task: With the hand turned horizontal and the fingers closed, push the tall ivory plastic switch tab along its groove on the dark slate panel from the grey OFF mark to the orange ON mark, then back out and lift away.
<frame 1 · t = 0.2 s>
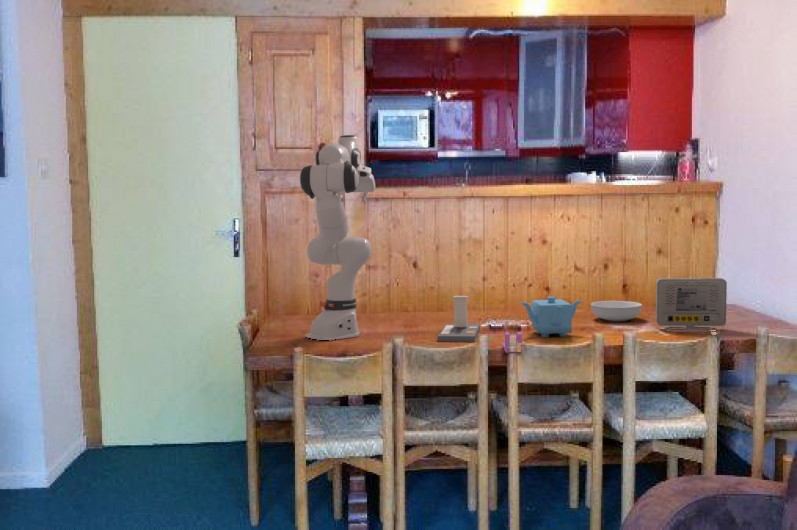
hand: (353, 201, 362), 52 cm above the table, tool tilted 20°, fingers open, 8 cm apart
bracket: (511, 349, 294), on the table
switch tab: (460, 311, 327), point 8 cm above the table, slide at 0.0 cm
network device: (690, 330, 321), on the table
teakettle: (552, 335, 318), on the table
switch panel: (459, 334, 323), on the table
serving bowl: (616, 320, 347), on the table
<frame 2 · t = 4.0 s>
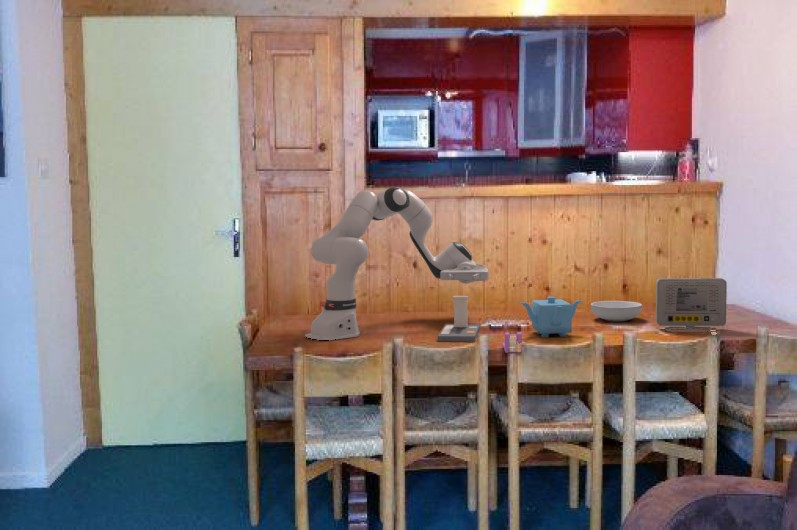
hand: (463, 277, 339), 20 cm above the table, tool horizontal, fingers open, 8 cm apart
nothing on the table moved.
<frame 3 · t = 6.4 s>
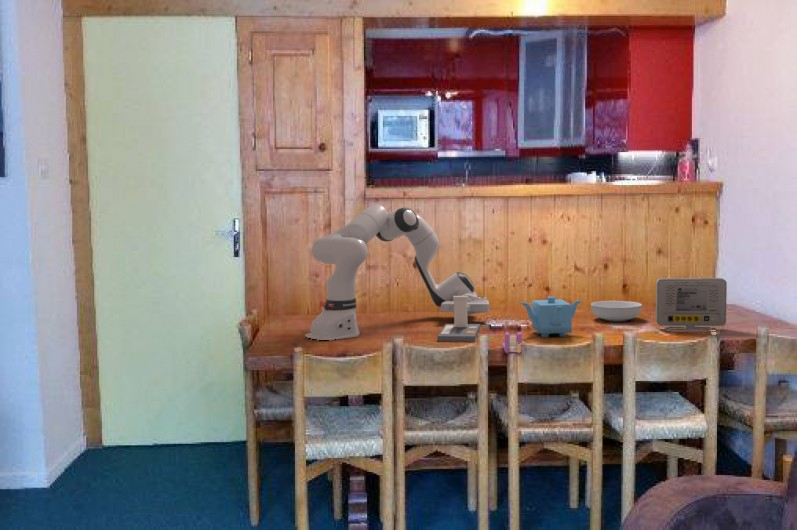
hand: (463, 309, 339), 7 cm above the table, tool horizontal, fingers closed
nothing on the table moved.
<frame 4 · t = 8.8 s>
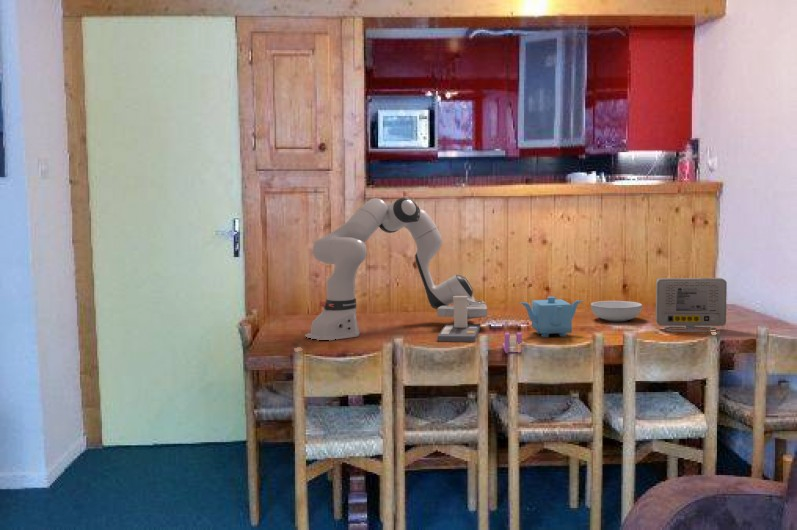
hand: (460, 314, 327), 7 cm above the table, tool horizontal, fingers closed, pressing on switch tab
switch tab: (460, 311, 326), point 8 cm above the table, slide at 0.6 cm, touching gripper
everything else where it was.
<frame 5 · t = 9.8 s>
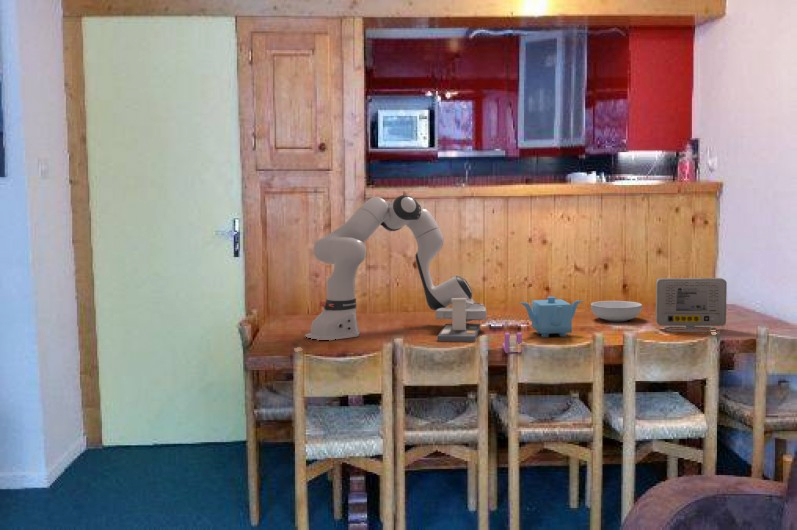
hand: (459, 317, 322), 7 cm above the table, tool horizontal, fingers closed, pressing on switch tab
switch tab: (459, 314, 320), point 8 cm above the table, slide at 6.3 cm, touching gripper
everything else where it was.
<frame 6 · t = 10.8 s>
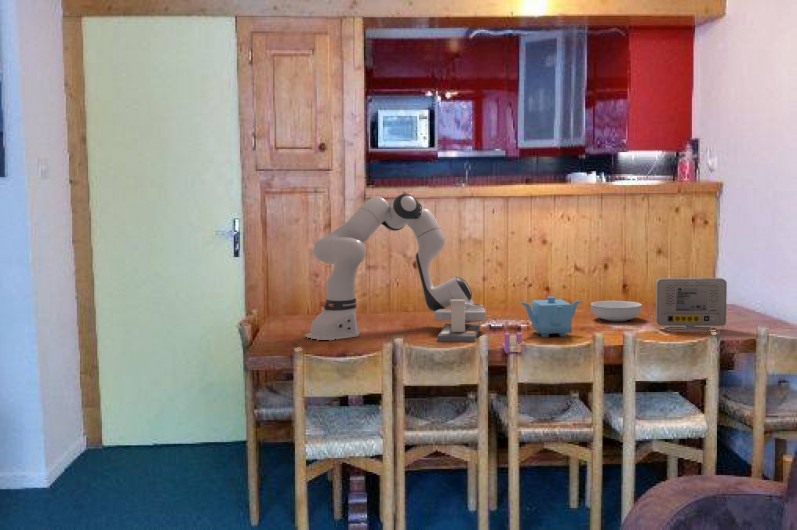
hand: (458, 318, 318), 7 cm above the table, tool horizontal, fingers closed, pressing on switch tab
switch tab: (458, 315, 317), point 8 cm above the table, slide at 9.8 cm, touching gripper
everything else where it was.
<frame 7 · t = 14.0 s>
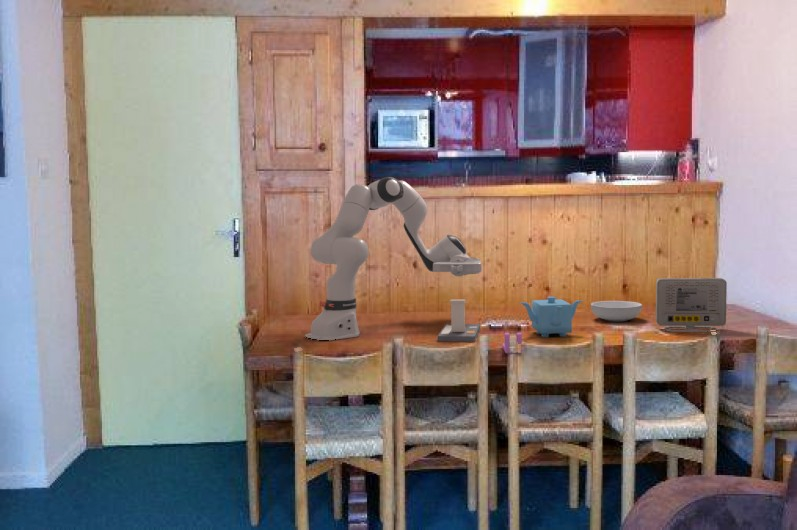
hand: (455, 268, 335), 24 cm above the table, tool horizontal, fingers closed
switch tab: (458, 315, 317), point 8 cm above the table, slide at 9.8 cm
everything else where it was.
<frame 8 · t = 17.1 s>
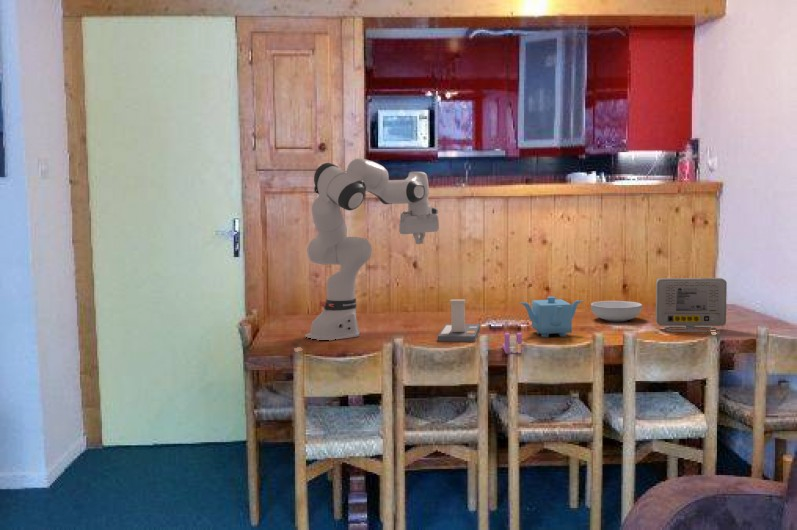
hand: (419, 243, 344), 34 cm above the table, tool pointing down, fingers closed
nothing on the table moved.
at the end: switch tab slide at 9.8 cm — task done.
